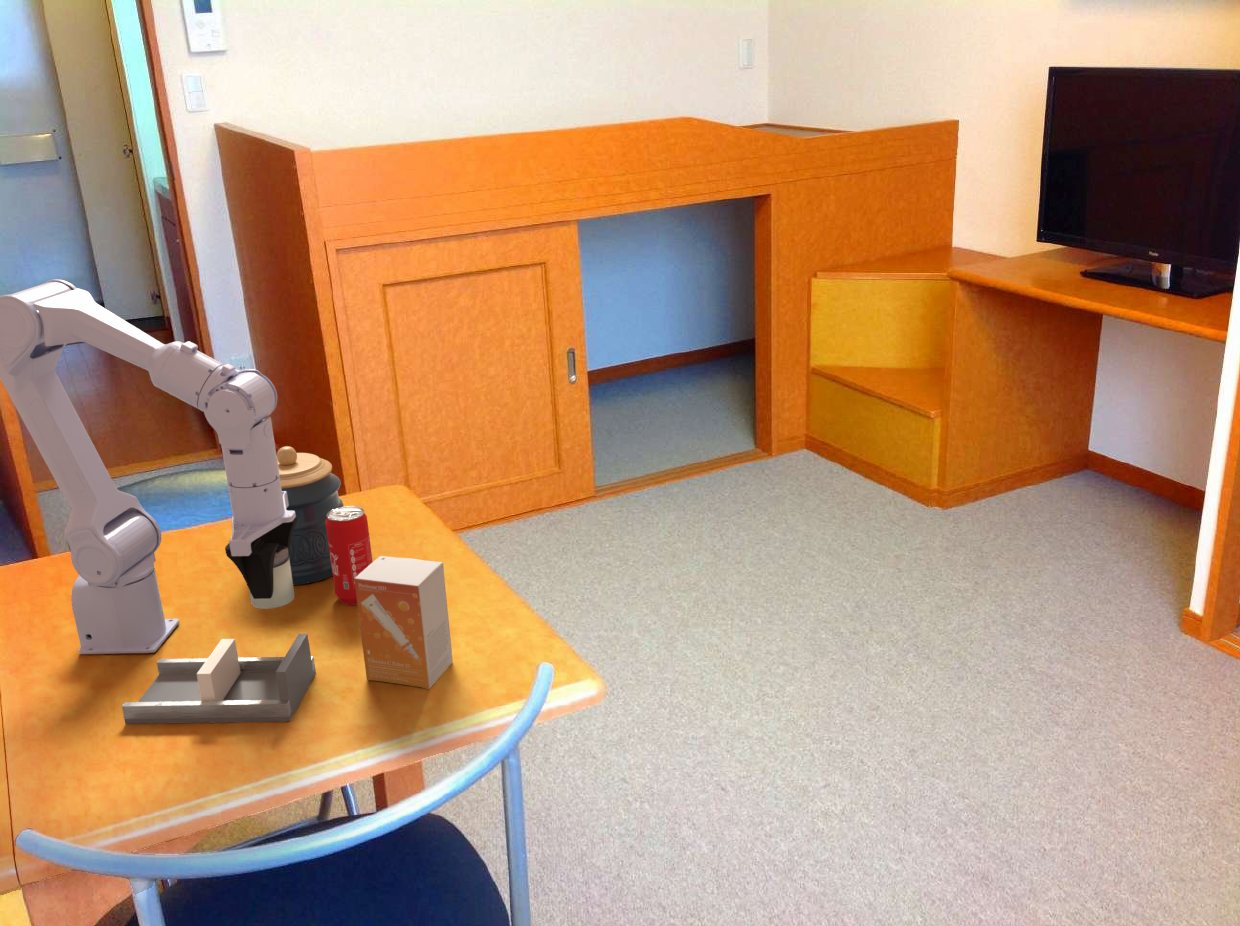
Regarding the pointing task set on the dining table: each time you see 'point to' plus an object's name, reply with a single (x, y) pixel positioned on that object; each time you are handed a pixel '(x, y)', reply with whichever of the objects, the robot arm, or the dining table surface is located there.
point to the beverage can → (348, 549)
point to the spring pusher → (219, 671)
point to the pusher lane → (254, 697)
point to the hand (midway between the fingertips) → (270, 586)
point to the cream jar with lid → (278, 582)
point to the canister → (308, 511)
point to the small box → (404, 621)
